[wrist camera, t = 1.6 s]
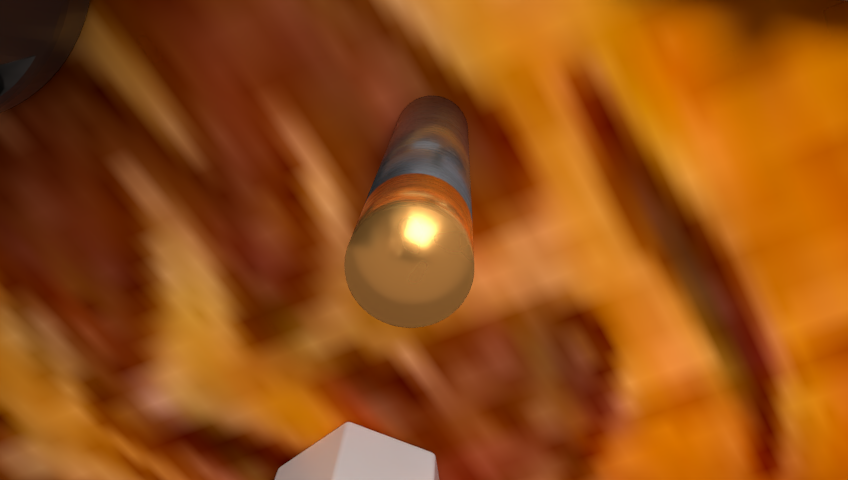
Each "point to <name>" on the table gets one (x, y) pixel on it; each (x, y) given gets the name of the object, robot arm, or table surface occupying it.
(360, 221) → the copper and gray cylinder
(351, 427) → the jar
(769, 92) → the table surface
